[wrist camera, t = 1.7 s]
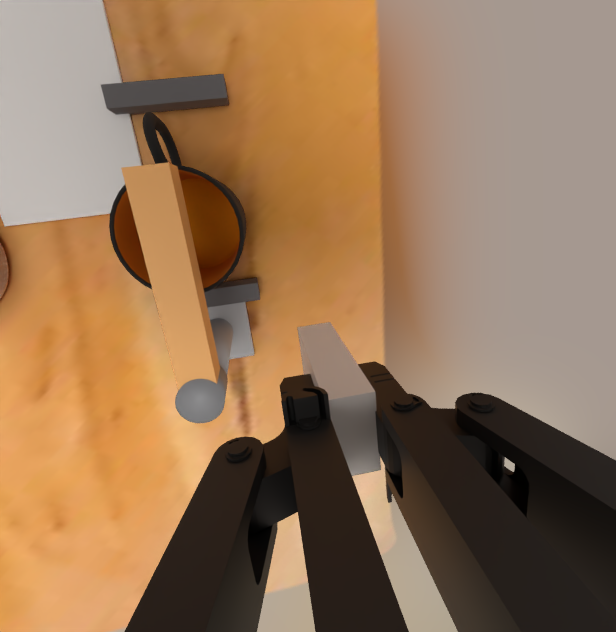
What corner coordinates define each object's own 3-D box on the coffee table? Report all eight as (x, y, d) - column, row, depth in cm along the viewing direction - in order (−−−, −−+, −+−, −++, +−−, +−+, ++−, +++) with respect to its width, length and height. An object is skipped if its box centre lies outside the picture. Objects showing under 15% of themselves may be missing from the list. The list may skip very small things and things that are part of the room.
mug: (218, 119, 31) (202, 81, 21) (257, 257, 35) (258, 279, 25) (120, 141, 30) (58, 113, 21) (170, 279, 34) (137, 310, 25)
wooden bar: (131, 172, 21) (112, 167, 19) (183, 166, 22) (173, 161, 19) (188, 402, 26) (181, 427, 23) (230, 395, 27) (228, 418, 24)
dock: (112, 93, 29) (39, 37, 19) (225, 83, 30) (211, 25, 20) (179, 364, 37) (152, 425, 27) (268, 349, 38) (274, 403, 28)
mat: (-77, -4, 26) (-81, -7, 26) (99, -15, 27) (97, -18, 27) (7, 226, 31) (4, 226, 31) (152, 208, 32) (151, 208, 32)
